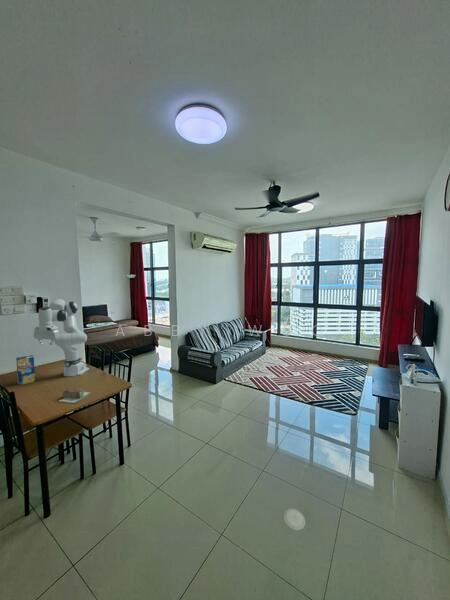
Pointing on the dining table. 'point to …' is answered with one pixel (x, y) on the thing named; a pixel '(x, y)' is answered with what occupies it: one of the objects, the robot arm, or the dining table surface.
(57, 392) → the dining table surface
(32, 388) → the dining table surface
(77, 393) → the block
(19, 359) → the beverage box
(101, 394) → the dining table surface
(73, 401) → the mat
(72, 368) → the robot arm
